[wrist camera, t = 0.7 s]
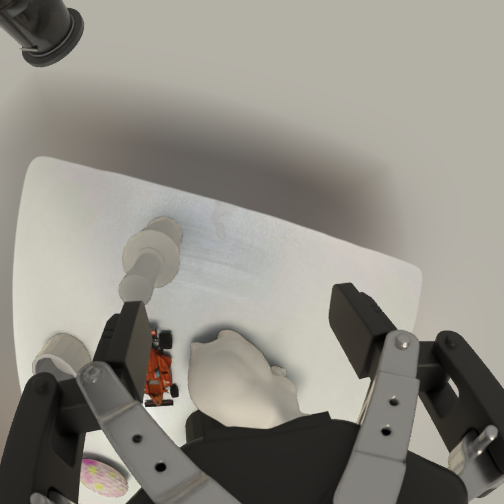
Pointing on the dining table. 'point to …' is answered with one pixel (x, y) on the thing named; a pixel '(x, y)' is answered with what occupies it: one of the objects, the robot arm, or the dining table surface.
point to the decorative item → (102, 478)
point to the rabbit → (240, 384)
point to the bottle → (150, 259)
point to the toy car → (159, 372)
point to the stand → (61, 357)
